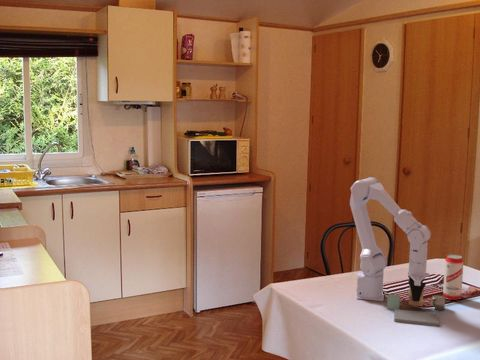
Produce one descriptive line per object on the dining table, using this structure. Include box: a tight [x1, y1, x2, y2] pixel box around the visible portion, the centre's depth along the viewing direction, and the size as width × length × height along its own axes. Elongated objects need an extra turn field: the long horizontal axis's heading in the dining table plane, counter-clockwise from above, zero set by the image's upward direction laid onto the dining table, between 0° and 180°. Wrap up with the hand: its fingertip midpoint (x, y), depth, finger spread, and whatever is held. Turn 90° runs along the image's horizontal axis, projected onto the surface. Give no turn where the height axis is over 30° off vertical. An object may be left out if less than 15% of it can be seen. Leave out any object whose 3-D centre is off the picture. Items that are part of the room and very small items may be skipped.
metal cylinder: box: [430, 294, 446, 312], centre depth 191 cm, size 4×4×4 cm
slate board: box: [393, 309, 440, 327], centre depth 183 cm, size 14×8×1 cm, turn 74°
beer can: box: [442, 253, 464, 300], centre depth 199 cm, size 6×6×16 cm
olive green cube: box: [386, 293, 401, 311], centre depth 193 cm, size 4×4×4 cm
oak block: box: [408, 286, 424, 307], centre depth 191 cm, size 4×4×6 cm
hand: (415, 298), depth 191 cm, fingers closed on oak block, 4 cm apart
